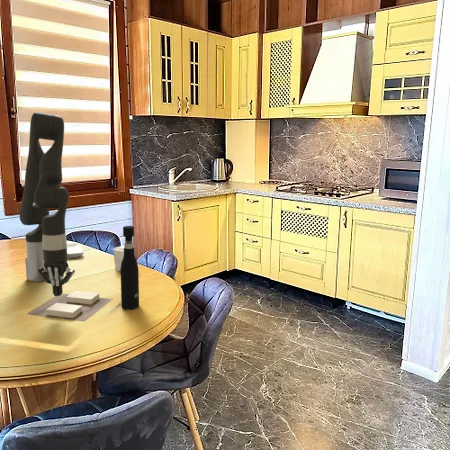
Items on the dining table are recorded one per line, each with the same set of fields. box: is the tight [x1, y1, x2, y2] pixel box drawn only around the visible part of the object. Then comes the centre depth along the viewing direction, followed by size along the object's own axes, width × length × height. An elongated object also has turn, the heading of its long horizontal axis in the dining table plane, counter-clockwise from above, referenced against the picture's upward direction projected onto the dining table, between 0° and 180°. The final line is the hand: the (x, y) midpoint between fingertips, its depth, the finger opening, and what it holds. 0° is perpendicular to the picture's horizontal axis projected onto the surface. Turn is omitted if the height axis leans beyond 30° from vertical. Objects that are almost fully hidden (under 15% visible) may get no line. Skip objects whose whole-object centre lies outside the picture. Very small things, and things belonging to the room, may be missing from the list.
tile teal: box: [66, 290, 101, 304], centre depth 154 cm, size 2×6×10 cm
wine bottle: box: [119, 225, 140, 311], centre depth 149 cm, size 6×6×30 cm
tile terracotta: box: [46, 303, 82, 318], centre depth 142 cm, size 2×6×10 cm
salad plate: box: [67, 243, 84, 259], centre depth 215 cm, size 21×21×3 cm
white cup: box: [113, 245, 125, 272], centre depth 194 cm, size 8×8×10 cm
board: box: [26, 293, 113, 322], centre depth 148 cm, size 22×20×1 cm
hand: (57, 295), depth 141 cm, fingers closed
